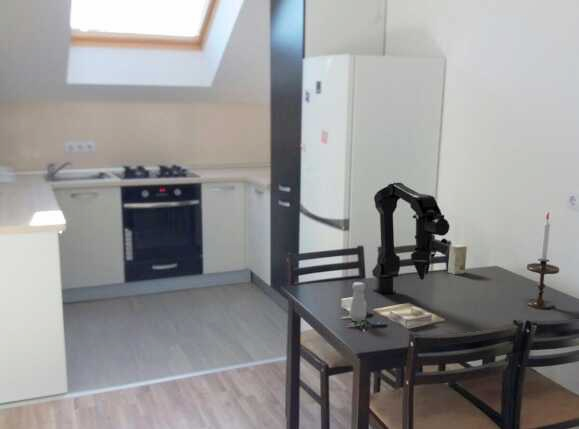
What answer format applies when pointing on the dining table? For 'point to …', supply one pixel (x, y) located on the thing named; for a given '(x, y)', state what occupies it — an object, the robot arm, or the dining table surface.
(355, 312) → the salt shaker
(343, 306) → the end cap
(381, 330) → the dining table surface
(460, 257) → the skincare box
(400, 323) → the board
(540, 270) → the candlestick
